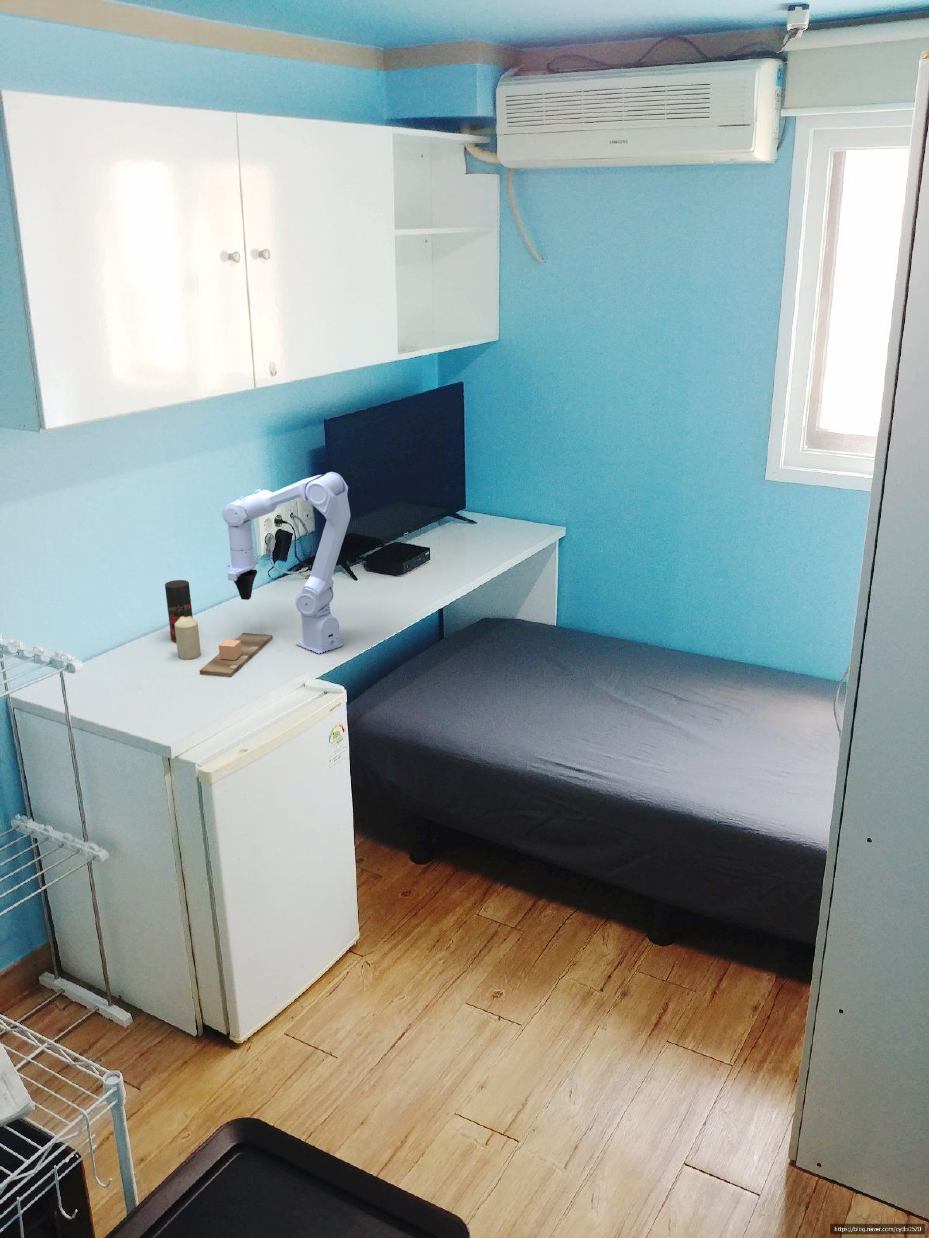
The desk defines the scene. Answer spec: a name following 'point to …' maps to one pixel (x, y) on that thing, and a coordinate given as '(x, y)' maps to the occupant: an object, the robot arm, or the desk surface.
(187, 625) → the candle
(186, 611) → the deodorant
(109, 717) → the desk surface
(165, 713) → the desk surface
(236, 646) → the peach colored cube
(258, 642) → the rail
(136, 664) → the desk surface
